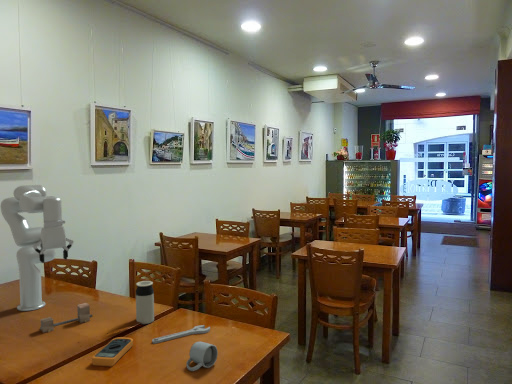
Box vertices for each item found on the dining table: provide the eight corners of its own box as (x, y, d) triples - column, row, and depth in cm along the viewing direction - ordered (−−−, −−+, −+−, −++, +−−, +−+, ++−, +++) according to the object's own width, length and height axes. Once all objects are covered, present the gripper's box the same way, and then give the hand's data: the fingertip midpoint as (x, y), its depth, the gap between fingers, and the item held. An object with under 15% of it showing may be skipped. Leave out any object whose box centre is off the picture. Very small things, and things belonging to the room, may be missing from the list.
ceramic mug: (202, 356, 145) (202, 336, 144) (218, 362, 140) (217, 342, 139) (181, 368, 136) (180, 347, 136) (197, 375, 131) (196, 353, 131)
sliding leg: (77, 320, 176) (77, 304, 176) (86, 318, 179) (86, 302, 179) (81, 323, 173) (80, 307, 172) (90, 321, 176) (90, 305, 175)
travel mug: (157, 319, 181) (157, 281, 180) (146, 325, 173) (145, 286, 172) (144, 316, 184) (143, 279, 183) (132, 322, 177) (131, 284, 176)
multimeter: (135, 345, 155) (135, 337, 154) (113, 368, 137) (112, 358, 137) (115, 344, 156) (114, 336, 156) (90, 366, 138) (90, 357, 138)
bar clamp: (40, 329, 167) (39, 318, 167) (91, 316, 182) (91, 306, 182) (43, 333, 163) (43, 322, 162) (96, 320, 178) (96, 309, 177)
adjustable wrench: (153, 345, 155) (153, 341, 155) (149, 339, 161) (149, 335, 161) (211, 332, 167) (211, 328, 167) (206, 327, 172) (206, 323, 172)
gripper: (70, 221, 186) (71, 256, 187) (29, 225, 175) (31, 262, 176) (75, 223, 181) (76, 259, 182) (33, 226, 169) (35, 265, 170)
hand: (54, 260), depth 179 cm, fingers open, 9 cm apart
